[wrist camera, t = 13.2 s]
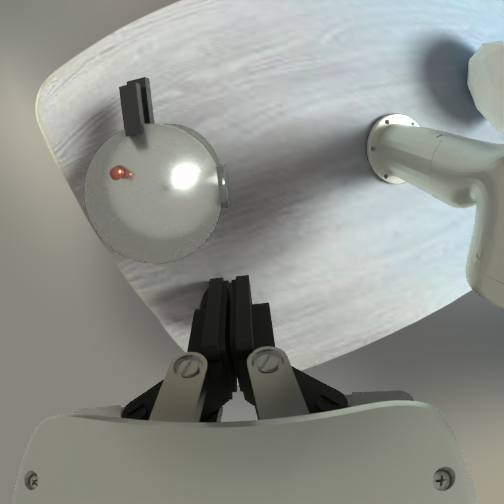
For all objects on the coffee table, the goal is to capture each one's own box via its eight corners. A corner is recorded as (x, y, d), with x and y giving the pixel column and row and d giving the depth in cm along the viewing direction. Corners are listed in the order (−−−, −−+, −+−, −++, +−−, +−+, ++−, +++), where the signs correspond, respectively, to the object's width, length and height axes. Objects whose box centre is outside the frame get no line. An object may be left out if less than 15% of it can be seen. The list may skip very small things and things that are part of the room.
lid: (215, 70, 27) (214, 67, 25) (236, 250, 38) (236, 259, 36) (70, 106, 26) (61, 107, 24) (108, 265, 37) (102, 274, 35)
